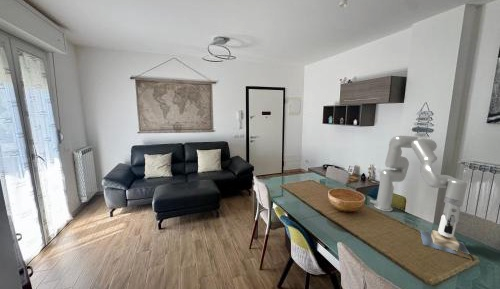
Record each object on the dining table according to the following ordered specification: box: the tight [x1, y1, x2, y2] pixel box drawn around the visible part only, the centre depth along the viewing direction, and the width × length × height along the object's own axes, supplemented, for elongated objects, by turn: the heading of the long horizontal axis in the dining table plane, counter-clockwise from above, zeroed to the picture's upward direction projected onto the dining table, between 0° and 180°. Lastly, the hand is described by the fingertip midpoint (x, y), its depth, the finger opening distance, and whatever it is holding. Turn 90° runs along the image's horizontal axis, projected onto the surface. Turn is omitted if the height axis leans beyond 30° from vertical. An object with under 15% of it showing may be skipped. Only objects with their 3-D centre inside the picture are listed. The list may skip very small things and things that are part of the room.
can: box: [437, 213, 457, 238], centre depth 118 cm, size 6×6×12 cm
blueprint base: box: [419, 229, 471, 255], centre depth 120 cm, size 20×18×5 cm
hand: (446, 229), depth 119 cm, fingers closed on can, 6 cm apart
